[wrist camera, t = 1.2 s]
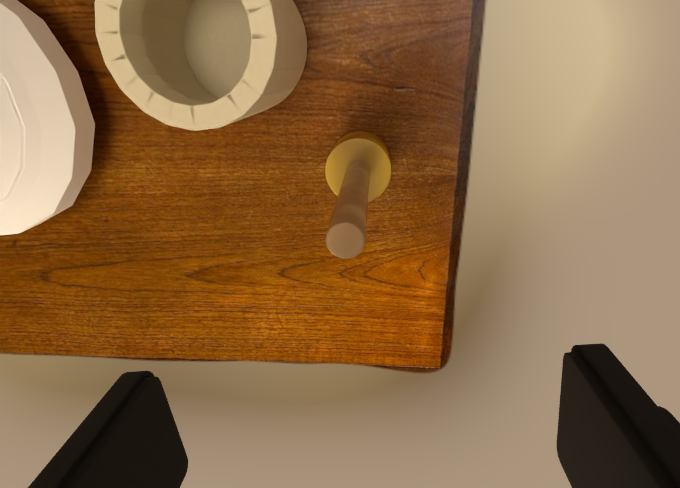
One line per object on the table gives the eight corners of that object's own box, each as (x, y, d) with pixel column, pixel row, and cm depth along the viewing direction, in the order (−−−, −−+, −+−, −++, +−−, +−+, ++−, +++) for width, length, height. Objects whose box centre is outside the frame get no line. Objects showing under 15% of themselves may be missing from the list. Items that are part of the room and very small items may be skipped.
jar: (295, -41, 31) (255, -95, 21) (316, 103, 34) (290, 118, 24) (165, -19, 32) (66, -59, 22) (198, 119, 36) (127, 139, 25)
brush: (387, 127, 35) (396, 181, 18) (392, 186, 36) (404, 285, 20) (326, 134, 35) (281, 193, 19) (334, 192, 37) (299, 293, 20)
